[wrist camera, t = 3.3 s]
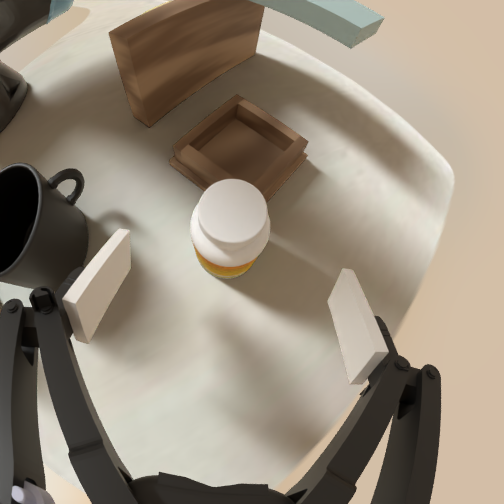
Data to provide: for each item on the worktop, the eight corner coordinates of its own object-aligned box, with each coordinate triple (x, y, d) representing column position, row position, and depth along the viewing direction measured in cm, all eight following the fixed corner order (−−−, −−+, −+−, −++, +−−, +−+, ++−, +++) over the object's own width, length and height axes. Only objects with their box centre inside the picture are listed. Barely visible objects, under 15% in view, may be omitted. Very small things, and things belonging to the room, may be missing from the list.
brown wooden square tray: (169, 164, 26) (165, 146, 23) (233, 109, 28) (236, 89, 25) (247, 225, 25) (251, 212, 22) (305, 158, 28) (315, 142, 25)
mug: (125, 224, 24) (88, 181, 15) (49, 311, 21) (-10, 306, 12) (78, 169, 24) (42, 121, 16) (11, 247, 21) (-40, 223, 13)
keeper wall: (133, 116, 27) (108, 32, 15) (238, 46, 31) (249, -23, 19) (149, 127, 27) (127, 38, 14) (254, 54, 31) (269, -17, 19)
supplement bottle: (256, 279, 24) (283, 256, 15) (195, 279, 24) (183, 256, 14) (255, 221, 26) (277, 169, 16) (197, 220, 25) (188, 167, 16)
